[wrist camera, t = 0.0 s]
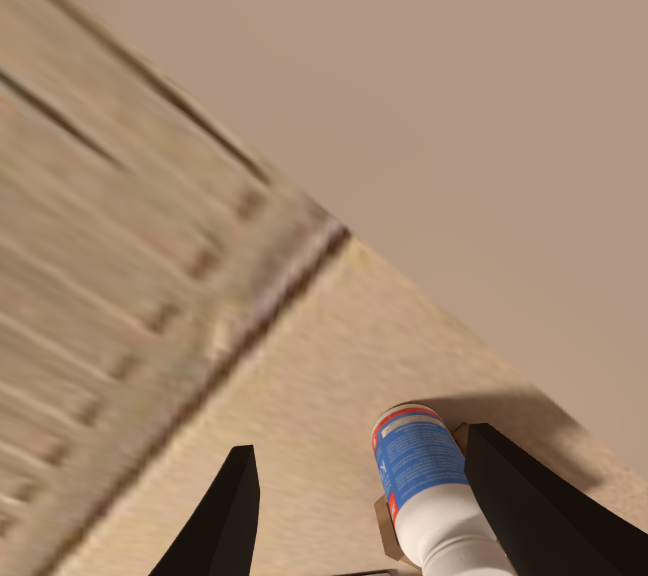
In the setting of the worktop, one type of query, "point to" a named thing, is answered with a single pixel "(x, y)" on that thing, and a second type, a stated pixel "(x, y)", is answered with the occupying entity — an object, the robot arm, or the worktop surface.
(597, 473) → the worktop surface
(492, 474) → the robot arm
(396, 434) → the pill bottle
